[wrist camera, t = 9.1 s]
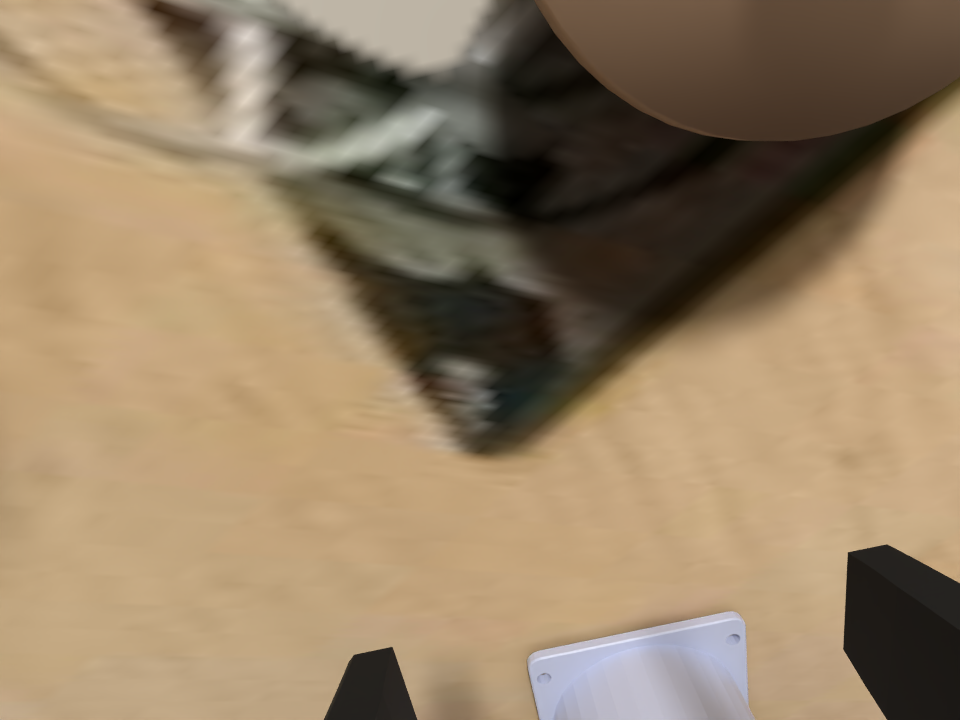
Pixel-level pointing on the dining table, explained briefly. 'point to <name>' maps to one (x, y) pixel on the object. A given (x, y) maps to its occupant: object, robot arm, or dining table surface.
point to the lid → (764, 60)
